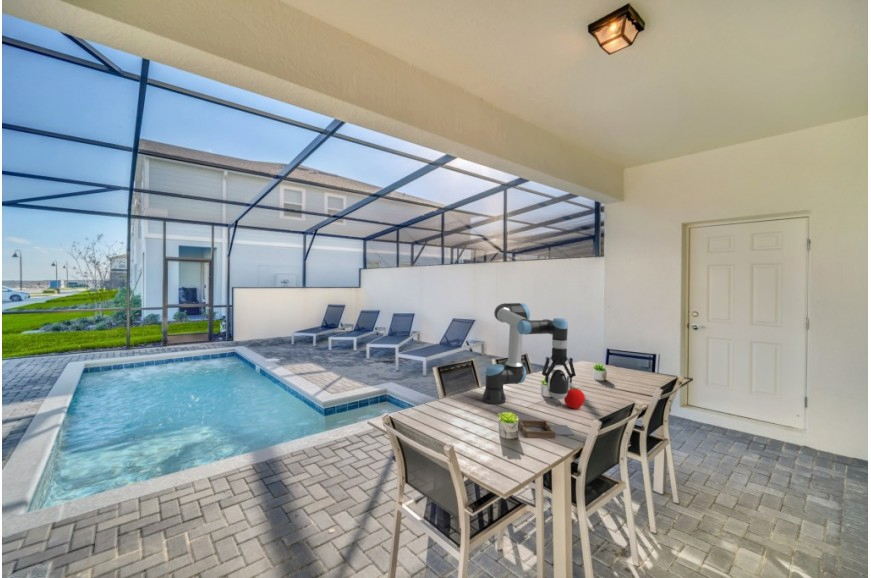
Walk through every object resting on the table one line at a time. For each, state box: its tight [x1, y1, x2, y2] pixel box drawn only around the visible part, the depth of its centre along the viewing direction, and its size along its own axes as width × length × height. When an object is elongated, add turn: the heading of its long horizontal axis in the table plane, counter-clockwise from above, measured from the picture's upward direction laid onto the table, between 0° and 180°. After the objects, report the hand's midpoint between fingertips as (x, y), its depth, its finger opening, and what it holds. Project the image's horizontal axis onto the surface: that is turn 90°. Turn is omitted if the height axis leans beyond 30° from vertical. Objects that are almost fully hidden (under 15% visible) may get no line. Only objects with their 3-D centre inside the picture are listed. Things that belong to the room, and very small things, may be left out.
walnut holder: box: [518, 419, 556, 439], centre depth 201 cm, size 15×15×3 cm
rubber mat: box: [549, 424, 575, 436], centre depth 203 cm, size 12×11×1 cm
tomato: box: [563, 387, 586, 410], centre depth 238 cm, size 12×12×13 cm
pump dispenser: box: [547, 368, 568, 400], centre depth 201 cm, size 10×10×15 cm
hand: (558, 388), depth 202 cm, fingers closed on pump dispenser, 10 cm apart
